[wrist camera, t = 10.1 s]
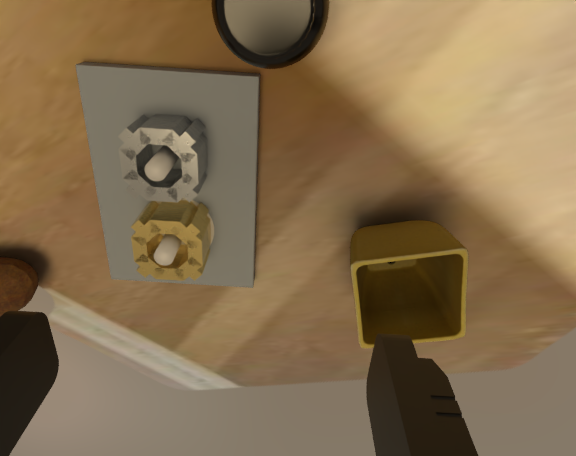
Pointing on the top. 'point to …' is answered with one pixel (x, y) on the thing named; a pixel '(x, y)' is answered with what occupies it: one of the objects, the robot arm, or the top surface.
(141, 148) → the steel gear
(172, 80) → the pegboard
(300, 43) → the supplement bottle
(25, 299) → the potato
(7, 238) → the top surface
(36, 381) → the robot arm
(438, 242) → the flower pot
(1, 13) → the top surface
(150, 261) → the brass gear
